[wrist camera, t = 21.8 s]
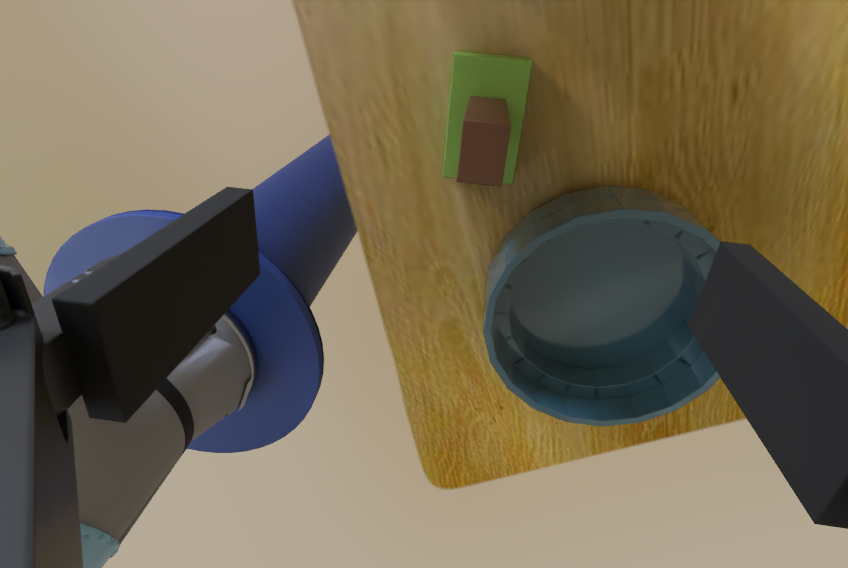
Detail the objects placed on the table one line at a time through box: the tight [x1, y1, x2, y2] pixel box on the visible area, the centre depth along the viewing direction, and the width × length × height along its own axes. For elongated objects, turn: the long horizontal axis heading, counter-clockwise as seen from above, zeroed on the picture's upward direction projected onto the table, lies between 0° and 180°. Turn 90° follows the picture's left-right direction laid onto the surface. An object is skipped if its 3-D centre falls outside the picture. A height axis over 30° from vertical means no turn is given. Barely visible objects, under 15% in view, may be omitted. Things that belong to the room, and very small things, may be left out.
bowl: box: [483, 186, 720, 426], centre depth 39 cm, size 18×18×6 cm
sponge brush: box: [442, 51, 533, 186], centre depth 31 cm, size 8×5×12 cm, turn 176°
